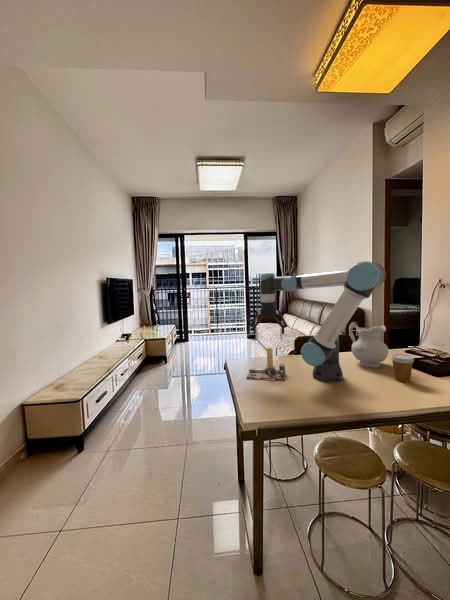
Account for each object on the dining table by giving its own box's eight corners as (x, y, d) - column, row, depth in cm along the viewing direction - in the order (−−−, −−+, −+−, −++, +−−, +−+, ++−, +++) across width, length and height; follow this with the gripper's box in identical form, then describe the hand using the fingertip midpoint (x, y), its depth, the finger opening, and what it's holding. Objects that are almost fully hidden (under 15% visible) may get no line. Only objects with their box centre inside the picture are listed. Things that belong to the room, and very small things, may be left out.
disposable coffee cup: (411, 377, 135) (411, 354, 134) (416, 384, 126) (416, 359, 126) (389, 375, 139) (389, 353, 138) (392, 382, 130) (392, 358, 130)
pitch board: (285, 372, 150) (285, 363, 150) (284, 380, 139) (284, 370, 138) (250, 371, 156) (249, 362, 155) (246, 378, 144) (246, 368, 144)
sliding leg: (275, 370, 151) (274, 346, 150) (274, 376, 143) (273, 350, 142) (266, 370, 152) (265, 346, 151) (264, 375, 144) (263, 350, 143)
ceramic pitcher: (343, 366, 160) (341, 326, 157) (352, 356, 174) (351, 319, 171) (384, 373, 146) (384, 329, 142) (391, 361, 160) (390, 321, 157)
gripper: (291, 300, 147) (292, 338, 149) (246, 301, 154) (248, 337, 155) (291, 301, 140) (291, 341, 142) (244, 302, 147) (245, 340, 148)
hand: (268, 339), depth 148 cm, fingers open, 13 cm apart
